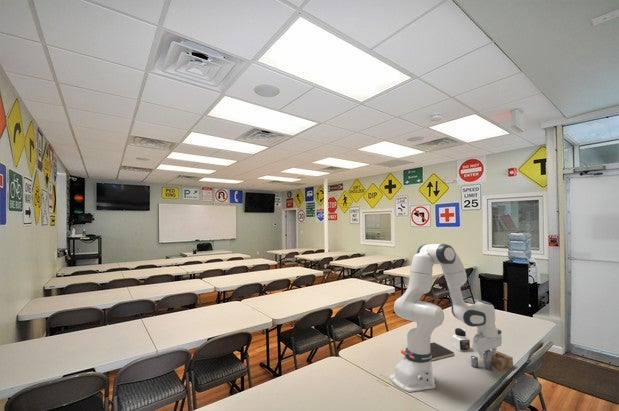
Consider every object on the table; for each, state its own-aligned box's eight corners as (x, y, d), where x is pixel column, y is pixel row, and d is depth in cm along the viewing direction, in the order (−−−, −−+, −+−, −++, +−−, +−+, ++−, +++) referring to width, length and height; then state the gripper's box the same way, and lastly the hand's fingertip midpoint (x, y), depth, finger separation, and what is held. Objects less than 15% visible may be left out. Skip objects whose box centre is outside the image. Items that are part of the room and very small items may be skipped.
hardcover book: (454, 356, 164) (454, 352, 164) (425, 363, 155) (424, 359, 156) (433, 345, 179) (433, 341, 179) (405, 351, 170) (405, 347, 170)
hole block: (501, 370, 147) (501, 361, 147) (483, 362, 156) (483, 353, 156) (513, 366, 151) (512, 357, 151) (494, 358, 160) (494, 349, 160)
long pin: (489, 371, 146) (488, 352, 147) (483, 368, 149) (482, 349, 150) (493, 370, 148) (492, 351, 148) (487, 367, 151) (486, 348, 151)
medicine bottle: (460, 351, 169) (459, 331, 170) (452, 346, 176) (451, 327, 177) (470, 350, 170) (469, 330, 171) (461, 345, 177) (461, 326, 178)
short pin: (475, 368, 149) (475, 359, 150) (470, 365, 152) (469, 356, 152) (479, 367, 150) (479, 357, 151) (473, 364, 153) (473, 355, 154)
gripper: (480, 336, 143) (481, 364, 142) (503, 330, 152) (505, 355, 151) (468, 332, 149) (469, 358, 148) (492, 326, 157) (493, 350, 156)
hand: (487, 357), depth 149 cm, fingers open, 8 cm apart
